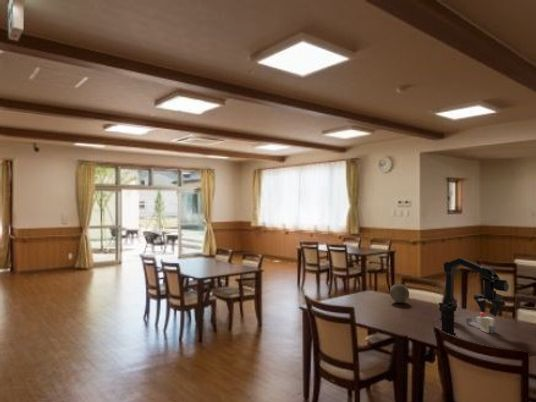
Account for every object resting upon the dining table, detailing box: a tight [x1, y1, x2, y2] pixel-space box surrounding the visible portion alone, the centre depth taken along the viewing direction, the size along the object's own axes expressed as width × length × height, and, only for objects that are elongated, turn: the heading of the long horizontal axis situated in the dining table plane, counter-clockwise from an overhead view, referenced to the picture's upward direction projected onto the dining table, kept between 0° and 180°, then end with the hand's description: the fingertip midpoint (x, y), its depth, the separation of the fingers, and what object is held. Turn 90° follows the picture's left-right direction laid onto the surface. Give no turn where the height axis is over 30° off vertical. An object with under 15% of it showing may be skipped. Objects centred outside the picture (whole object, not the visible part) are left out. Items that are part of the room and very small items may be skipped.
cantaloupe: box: [389, 283, 410, 304], centre depth 316 cm, size 14×14×15 cm
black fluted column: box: [438, 302, 458, 338], centre depth 235 cm, size 8×8×20 cm
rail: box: [465, 317, 497, 335], centre depth 254 cm, size 3×20×4 cm, turn 17°
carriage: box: [480, 316, 496, 334], centre depth 249 cm, size 6×5×8 cm
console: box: [475, 315, 481, 325], centre depth 264 cm, size 5×5×4 cm
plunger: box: [479, 311, 485, 318], centre depth 264 cm, size 2×2×5 cm
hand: (488, 314), depth 248 cm, fingers open, 9 cm apart
